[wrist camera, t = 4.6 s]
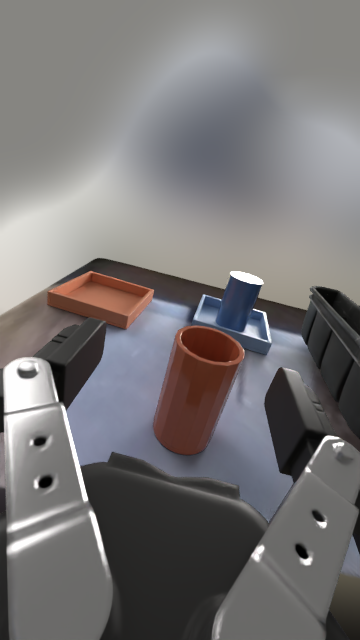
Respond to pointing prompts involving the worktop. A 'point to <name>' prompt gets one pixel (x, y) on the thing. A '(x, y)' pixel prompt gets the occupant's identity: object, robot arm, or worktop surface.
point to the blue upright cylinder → (238, 301)
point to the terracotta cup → (196, 388)
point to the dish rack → (336, 348)
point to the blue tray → (250, 338)
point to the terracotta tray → (102, 298)
